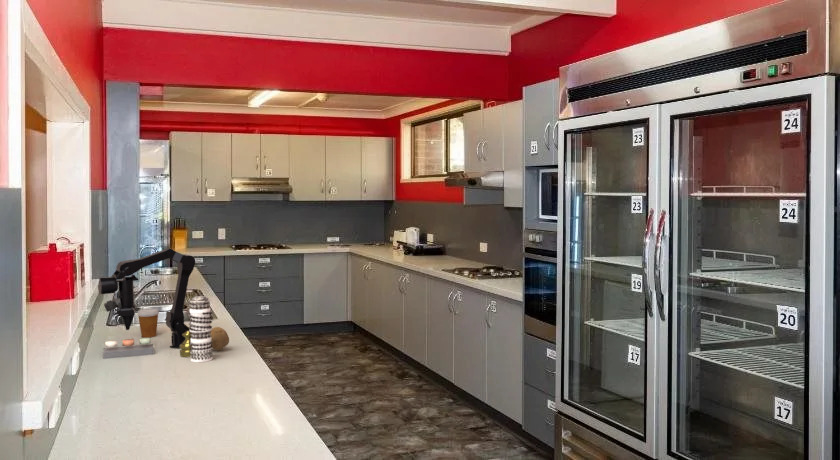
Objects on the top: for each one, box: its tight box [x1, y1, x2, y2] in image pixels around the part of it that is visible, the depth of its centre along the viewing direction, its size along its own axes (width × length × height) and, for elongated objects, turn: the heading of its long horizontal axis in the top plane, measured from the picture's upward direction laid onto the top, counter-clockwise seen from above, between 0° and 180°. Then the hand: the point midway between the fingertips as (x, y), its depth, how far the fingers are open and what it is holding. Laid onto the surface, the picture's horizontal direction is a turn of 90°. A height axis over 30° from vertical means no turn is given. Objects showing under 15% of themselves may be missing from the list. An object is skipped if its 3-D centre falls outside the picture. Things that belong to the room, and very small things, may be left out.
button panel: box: [102, 343, 155, 360], centre depth 314 cm, size 19×9×2 cm, turn 110°
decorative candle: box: [187, 295, 214, 363], centre depth 302 cm, size 9×9×25 cm
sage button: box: [138, 337, 152, 345], centre depth 316 cm, size 4×4×2 cm
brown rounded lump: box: [211, 326, 230, 352], centre depth 318 cm, size 9×9×10 cm
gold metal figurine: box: [179, 330, 192, 358], centre depth 310 cm, size 7×7×10 cm
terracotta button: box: [121, 338, 135, 347], centre depth 314 cm, size 4×4×2 cm
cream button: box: [104, 339, 118, 348], centre depth 311 cm, size 4×4×2 cm
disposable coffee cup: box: [136, 308, 160, 338], centre depth 350 cm, size 10×10×12 cm
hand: (127, 329), depth 314 cm, fingers closed
